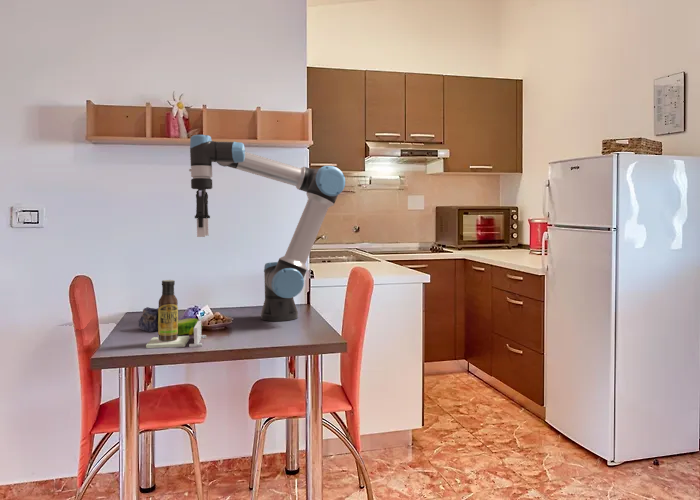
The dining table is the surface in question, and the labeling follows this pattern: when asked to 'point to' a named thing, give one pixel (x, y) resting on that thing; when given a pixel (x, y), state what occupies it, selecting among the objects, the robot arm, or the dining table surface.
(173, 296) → the sauce bottle
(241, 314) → the dining table surface
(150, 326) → the rock
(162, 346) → the pad
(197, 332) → the divider
